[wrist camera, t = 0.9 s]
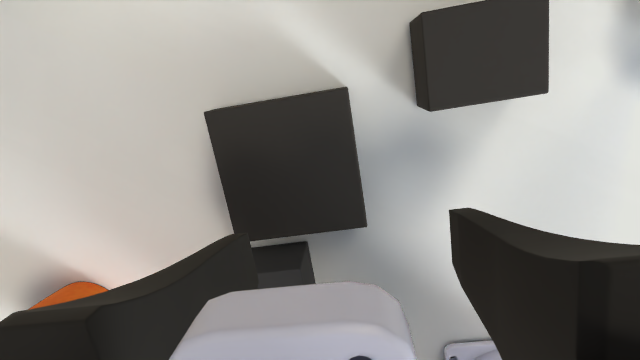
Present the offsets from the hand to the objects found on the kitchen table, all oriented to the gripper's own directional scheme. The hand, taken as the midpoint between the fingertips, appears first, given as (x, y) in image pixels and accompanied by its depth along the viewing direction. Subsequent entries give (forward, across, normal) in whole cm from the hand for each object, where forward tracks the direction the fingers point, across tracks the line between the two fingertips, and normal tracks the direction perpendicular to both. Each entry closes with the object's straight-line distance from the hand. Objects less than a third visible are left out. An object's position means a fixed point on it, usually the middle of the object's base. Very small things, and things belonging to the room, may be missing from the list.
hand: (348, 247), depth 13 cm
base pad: (+10, +3, -1) cm, 10 cm away
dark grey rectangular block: (+10, -7, -6) cm, 13 cm away
